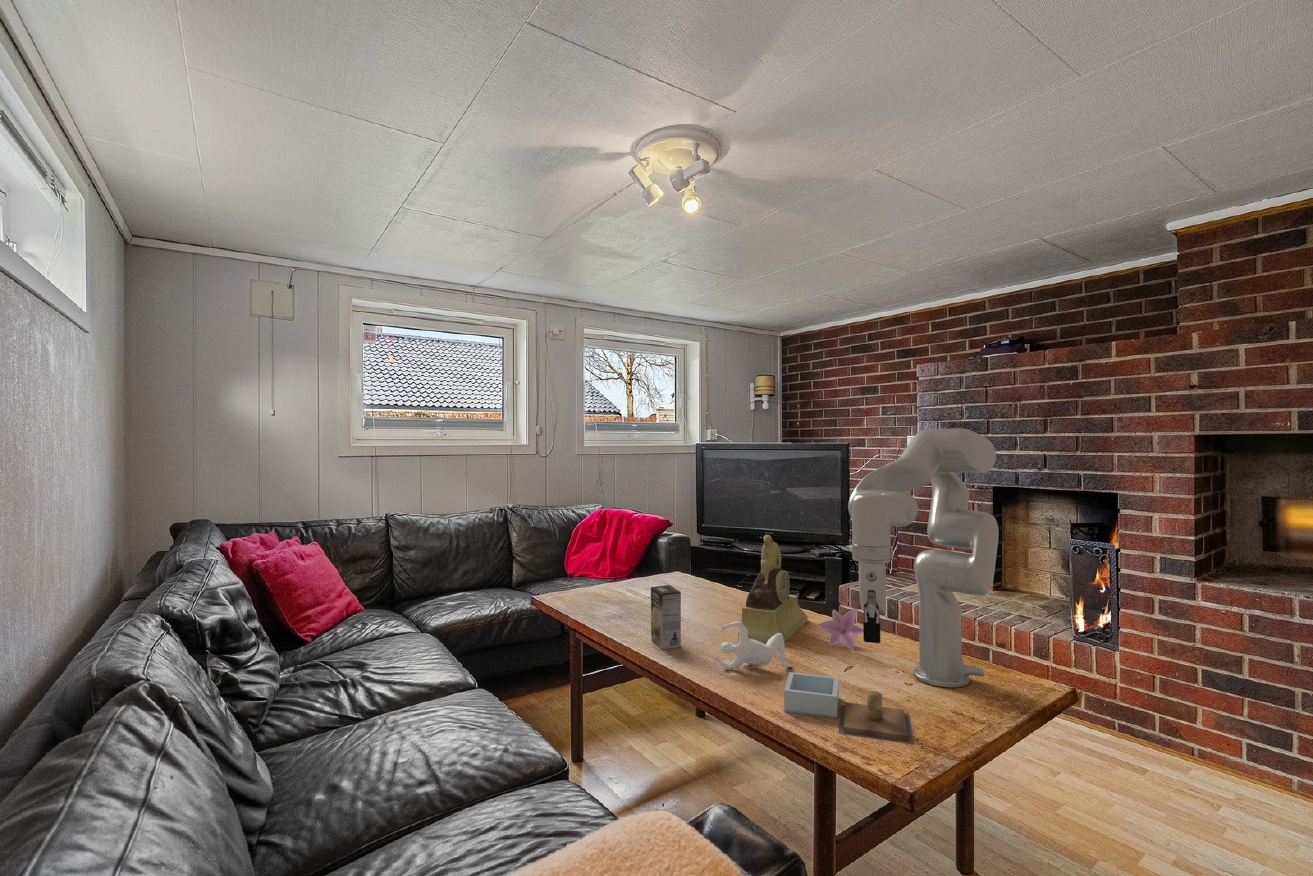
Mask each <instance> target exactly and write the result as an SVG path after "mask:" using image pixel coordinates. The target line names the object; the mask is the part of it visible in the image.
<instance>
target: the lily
mask: <svg viewBox="0 0 1313 876" xmlns="http://www.w3.org/2000/svg"><path fill="white" fill-rule="evenodd" d="M857 613H858V609H856V608H854V609H851V610H850V611H847V612H846V613H844V614H843V615H841V613H839V612H838V611H837V610H836V609H834V608H833V609H832V616H831V618H832V619H830V620H825V621H822V622H820V623H818V624H817V627H819V628H820V629H821V630H823V631H824V632H827V633H828V634H831V635H830V638H829V642H828V646H829V647H833V646H834V645H836V644H837V643H840V642H841V643H842V644H843V645H844V646H845V647H846V648H847V649H849V650H850V651H851V652H852V651H854V649H855V638H854V637H855V636H857V635H860V634H861V635H862V634H863V627H860V626H859V625H855V622H856V618H857Z"/></svg>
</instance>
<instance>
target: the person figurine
mask: <svg viewBox="0 0 1313 876" xmlns="http://www.w3.org/2000/svg"><path fill="white" fill-rule="evenodd" d="M720 628H721V630H722V631H725V630H727V629H728V628H738V633H740V635H739V639H738V640H739V642H738V644H736V645H735V644H734V643H731V642H727V641H726V642H722V643H721V645H720V651H721V652H723V653H725V654H727V655H729V654H730V653H734V654H735V655H736V656H735V657H734V660H733V661H731V662H730V663H728V662H726V661H725V660H722V659H720V658H719V656H717V655H715V656H714V657H713V660H714V661H715V662H717V663H719V665H721V666H722V667H723V669H725V670H727V671H732V670H733V669H738V668H740V667H742V665H743V664H748V665H753V666H756V665H763V666H765V665H766V666H767V665H768V664H770V662H771V660H772V659H773V658H774V657H775V656H776V655H777V653H778V656H779V658H780V663H781V667H782V668H793V665H792V664H790V663H788V661H787V660H786V658H785V645H786V644H785V642H784V639H783V635H782V634H781V633H777V634H775V635H774V636H772V637H771V638H770V639H769V640H768V642H767V644H764V643H761V642H759V641H756V640H753V639H749V638H748V631H747V629H746V628H745V627H744V626H743V623H742V622H741V621H733V622H731V623H728V624H724V625H721V627H720Z"/></svg>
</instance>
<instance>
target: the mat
mask: <svg viewBox="0 0 1313 876" xmlns="http://www.w3.org/2000/svg"><path fill="white" fill-rule="evenodd" d="M839 708H840V709H839V719H838V720H839V722H838V734H839V735H846V736H854V737H860V738H868V739H874V740H881V741H889V742H895V743H903V744H908V745H915V742H914V736H913V731H912V724H911V719H910V713H909V712H905V711H904V714H905V720H906V726H907V733H908V741H906V740H899V739H892V738H884V737H877V736H870V735H863V734H856V733H849V732H844V714H845V704H840V707H839Z"/></svg>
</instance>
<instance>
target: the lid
mask: <svg viewBox="0 0 1313 876" xmlns="http://www.w3.org/2000/svg"><path fill="white" fill-rule="evenodd" d="M844 705H845V714H844V732H849V733H856V734H863V735H870V736H877V737H884V738H892V739H899V740H906V741H908V733H907V726H906V720H905V714H904V712H905V709H901V708H895V707H884V706H883V693H882V692H880V691H876V690H869V691H867V692H866V704H861V703H856V702H855V703H854V702H845V704H844Z"/></svg>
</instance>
